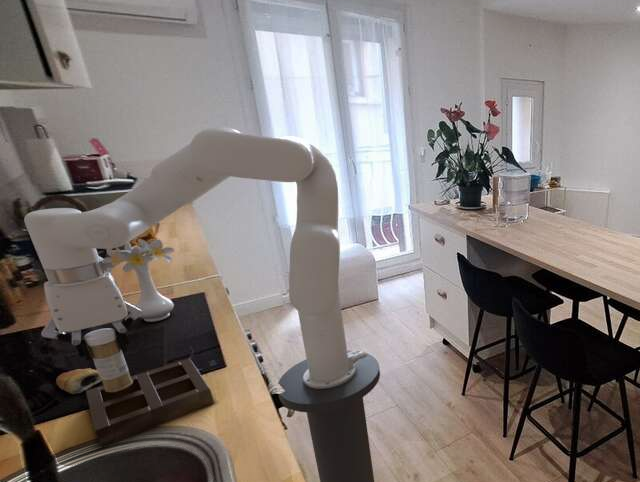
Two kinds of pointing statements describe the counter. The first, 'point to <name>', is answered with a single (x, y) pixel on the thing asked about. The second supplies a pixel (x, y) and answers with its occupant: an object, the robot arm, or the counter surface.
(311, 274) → the robot arm
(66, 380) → the pastry
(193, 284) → the counter surface
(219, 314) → the counter surface
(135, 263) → the flower vase
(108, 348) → the sprinkles bottle
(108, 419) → the compartment tray
